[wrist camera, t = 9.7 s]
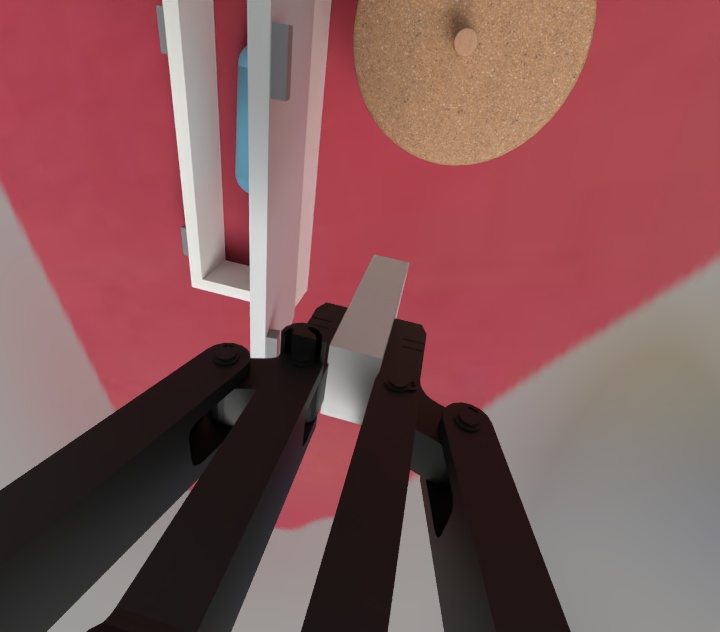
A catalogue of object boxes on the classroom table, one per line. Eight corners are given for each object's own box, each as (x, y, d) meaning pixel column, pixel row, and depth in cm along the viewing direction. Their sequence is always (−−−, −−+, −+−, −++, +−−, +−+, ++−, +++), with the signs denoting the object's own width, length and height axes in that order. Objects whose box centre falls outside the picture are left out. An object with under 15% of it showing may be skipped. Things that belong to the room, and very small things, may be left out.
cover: (245, -97, 12) (291, -88, 12) (301, -37, 20) (328, -32, 21) (251, 404, 24) (273, 407, 24) (284, 314, 33) (301, 316, 33)
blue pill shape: (246, 36, 27) (232, 36, 24) (290, 47, 27) (281, 48, 24) (241, 184, 32) (229, 196, 30) (278, 192, 32) (269, 204, 30)
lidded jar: (369, 128, 28) (332, 152, 20) (396, -80, 22) (359, -158, 14) (522, 155, 27) (545, 192, 19) (594, -57, 21) (670, -128, 13)
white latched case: (188, -43, 25) (146, -59, 22) (333, -20, 24) (312, -33, 21) (210, 265, 37) (185, 285, 34) (307, 289, 36) (291, 312, 33)
